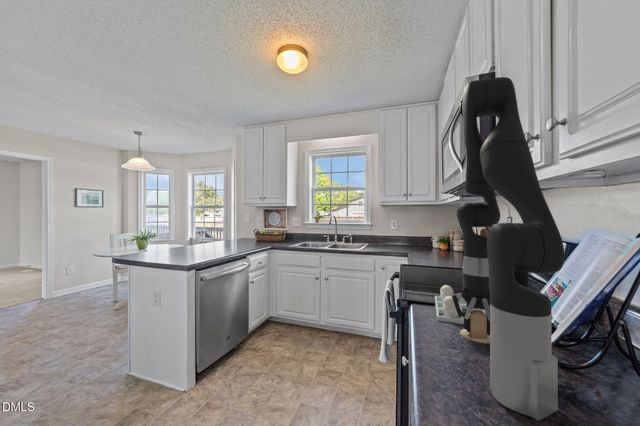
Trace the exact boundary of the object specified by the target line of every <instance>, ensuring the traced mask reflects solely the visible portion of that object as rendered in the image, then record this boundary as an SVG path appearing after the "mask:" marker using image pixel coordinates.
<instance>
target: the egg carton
mask: <svg viewBox="0 0 640 426" xmlns="http://www.w3.org/2000/svg"><path fill="white" fill-rule="evenodd" d="M458 303H459V306H460V309H461V311H463V310H465V307H466V304H467V303H466V301H465V300H464V299H463V298H461V301H460V302H458ZM434 304H435V305H434V306H435V314H436V320H437V321H438V322H446V323H452V324H459V325H464V318H463V317H462V316H459V315H458V318H452V317H445V316H443V315H440V314H443V302H440V295H434ZM473 310H480V311H482V312H484V313H485V311H484V310H482V309H479V308H477V309H474V308H473ZM473 310H472V311H473ZM485 315H486V314H485ZM459 317H460V318H459Z"/></svg>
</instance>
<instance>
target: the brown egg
mask: <svg viewBox="0 0 640 426" xmlns="http://www.w3.org/2000/svg"><path fill="white" fill-rule="evenodd" d="M469 319H470V332H469V335H470V336H472V337H474V338H477V339H486V338H487V317H486V315H485V313H484V312H482V311H480V310H472V313H471V315H470V317H469Z"/></svg>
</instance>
